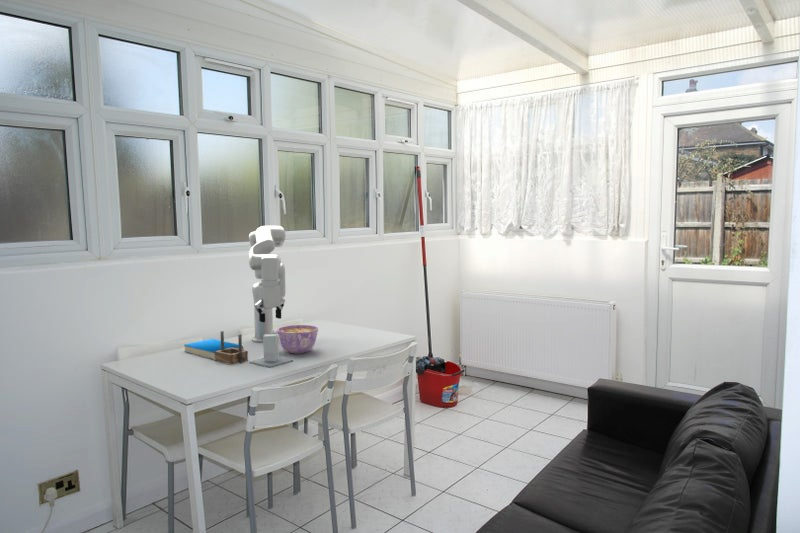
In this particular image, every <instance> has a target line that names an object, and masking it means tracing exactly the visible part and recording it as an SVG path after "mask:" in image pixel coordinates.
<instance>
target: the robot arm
mask: <svg viewBox="0 0 800 533" xmlns="http://www.w3.org/2000/svg"><path fill="white" fill-rule="evenodd" d="M248 239H249V244H250V246H251V247H250V250H249V252H248V264H249V268H250V269H251V270H252V271H254V276H255V278H256V279H257V280H261V281H259V282H255V283H254V284H253V285H252V288H251V290H252V292H251V294H252V298H253V307H254V308H253V309H254V310H253V312H254V336H253V337H252V338H251V341H253V342H254V343H255V342H256V343H263V336H264V335H265V334H277V335H278V331H277V330H273V327H274V325H273V323H274V322H273V308H274V309H275V318H276V319H278V320H279V319H282V310H283V308H284V306H285V303H286V299H285V297H286V268H285V265H284V263H283V262H282V260H281V257H280V256H279V255H278V254H276V253H274V254H273V253H272V252H273V251H274V250H275V248H281V247H282V246H283V244H284V243H285V242H286V232H285V228H284V227H283V226H281V225H261V226H260V227H257V229H256V230H255V231H251V232H250V233H249V235H248Z"/></svg>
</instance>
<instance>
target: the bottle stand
mask: <svg viewBox="0 0 800 533" xmlns="http://www.w3.org/2000/svg"><path fill="white" fill-rule="evenodd" d="M224 333H225V332H224V331H223V330H222V331H220V341H221V350H219V351H215V359H214V361H215V362H219V363H222V364H227V365H235V364H243V362H247V361H249V359H248V358H249V357H248V356H249V355H248V354H249V351H248V350H247V349H246V350H245V349H244V350H242V346H243V345H242V344H243V342H242V340H243V338H242V337H243V336H242V334H238V345H239V349H236V348H227V349H224V342H225V334H224Z"/></svg>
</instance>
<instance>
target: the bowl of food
mask: <svg viewBox="0 0 800 533" xmlns="http://www.w3.org/2000/svg"><path fill="white" fill-rule="evenodd" d="M276 331H278V334H277V336H278V339H279V342H280V346H281V347H282V348H283V350H285V351H286V352H289V353H291V354H293V353H294V355H295V354H296V355H298V354H300V353H301V354H306V352H308V351H309V350H311V349H313V347H314V346H315V343H316V340H317V335H318V332H319V328H318V327H317V326H315V325H309V324H293V325H285V326H280V327H278V328H277V330H276Z"/></svg>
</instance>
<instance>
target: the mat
mask: <svg viewBox="0 0 800 533" xmlns="http://www.w3.org/2000/svg"><path fill="white" fill-rule="evenodd" d="M248 362H249V363H248V364H252V365H257V366H259V367H260V366H261V367H264V366H265V367H264V368H269V369H270V368H271V367H272V368H275V367H278V366H282V365H285V364H288V363H291V362H294V359H291V358H285V357H283V356H282V357H281V356H278V361H277V362H264V357H263V358H258V359H255V360H251V361H248Z"/></svg>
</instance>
